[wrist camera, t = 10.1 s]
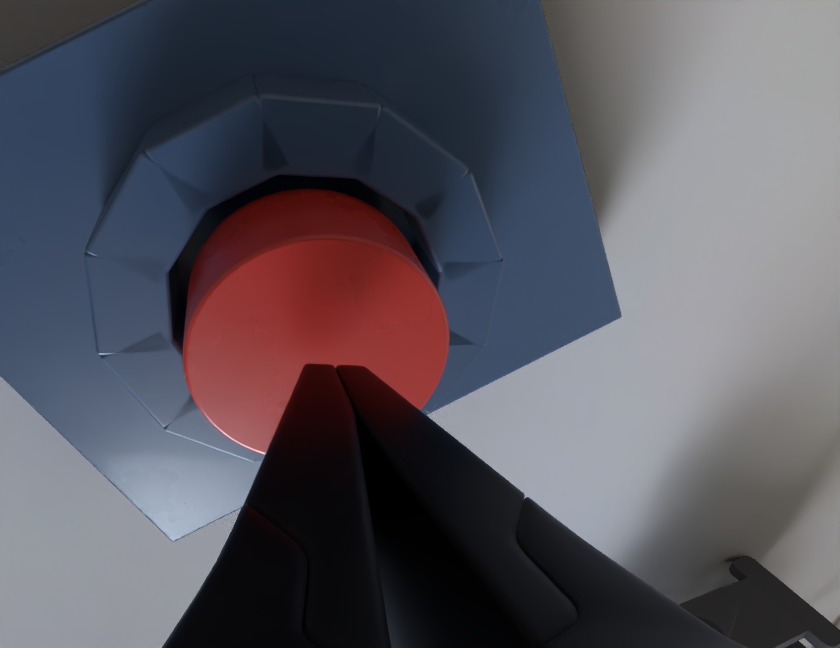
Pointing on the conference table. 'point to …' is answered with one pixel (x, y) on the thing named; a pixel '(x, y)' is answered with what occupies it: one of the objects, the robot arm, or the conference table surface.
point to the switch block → (267, 174)
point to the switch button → (305, 308)
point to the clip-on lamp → (762, 611)
